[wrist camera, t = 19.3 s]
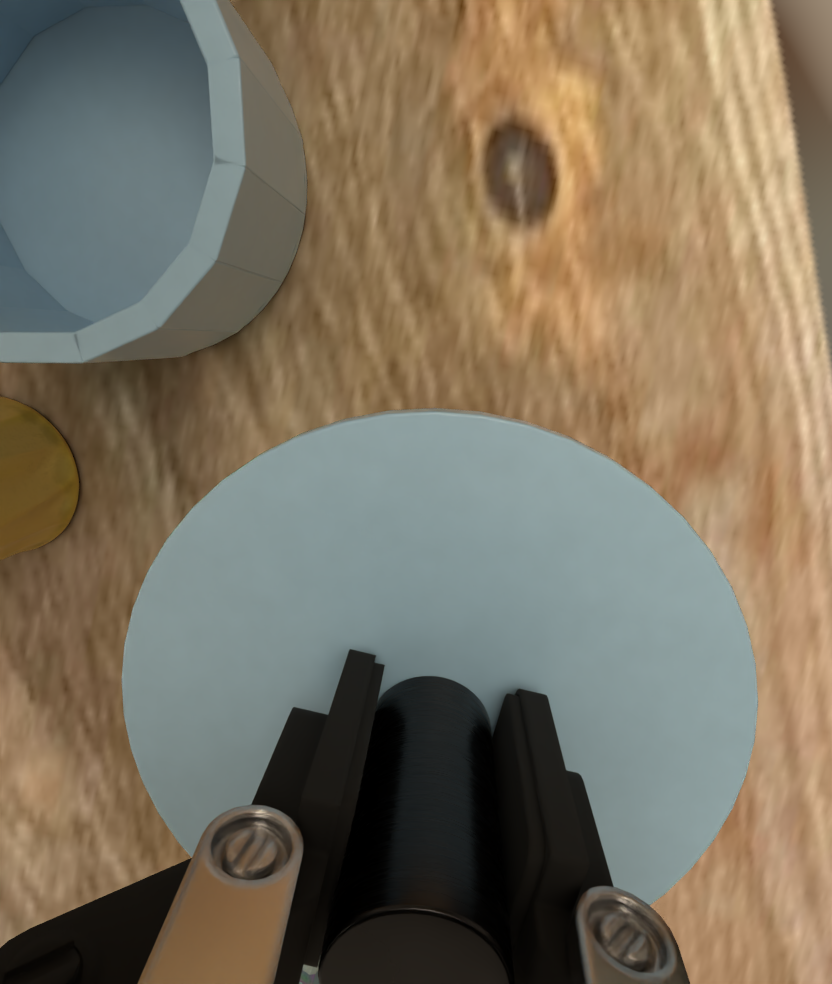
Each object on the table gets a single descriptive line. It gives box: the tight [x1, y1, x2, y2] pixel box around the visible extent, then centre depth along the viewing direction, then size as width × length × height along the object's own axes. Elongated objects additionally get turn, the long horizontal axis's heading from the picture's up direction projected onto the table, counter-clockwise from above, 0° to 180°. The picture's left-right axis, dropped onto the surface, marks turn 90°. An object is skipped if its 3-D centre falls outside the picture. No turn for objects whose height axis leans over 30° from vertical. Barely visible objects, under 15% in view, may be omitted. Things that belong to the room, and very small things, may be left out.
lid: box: [122, 408, 758, 984], centre depth 10 cm, size 13×13×6 cm
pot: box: [0, 0, 307, 363], centre depth 18 cm, size 12×12×6 cm
